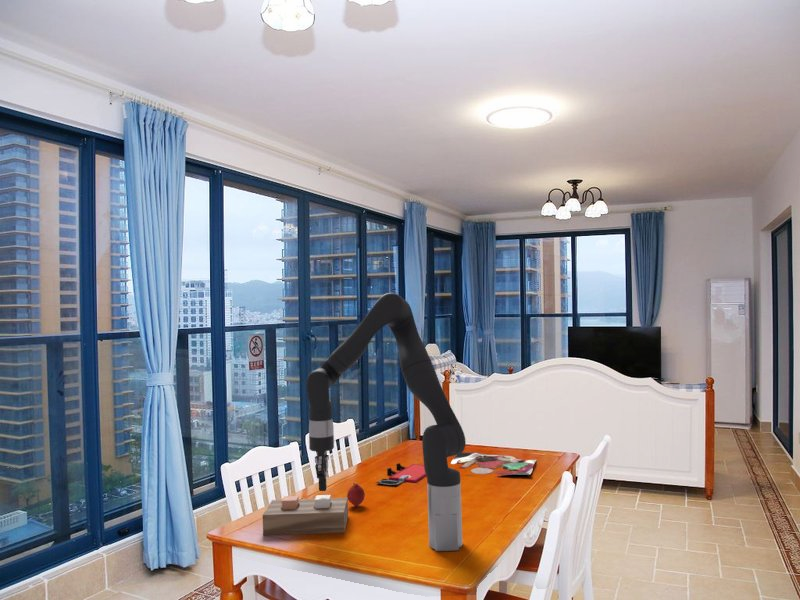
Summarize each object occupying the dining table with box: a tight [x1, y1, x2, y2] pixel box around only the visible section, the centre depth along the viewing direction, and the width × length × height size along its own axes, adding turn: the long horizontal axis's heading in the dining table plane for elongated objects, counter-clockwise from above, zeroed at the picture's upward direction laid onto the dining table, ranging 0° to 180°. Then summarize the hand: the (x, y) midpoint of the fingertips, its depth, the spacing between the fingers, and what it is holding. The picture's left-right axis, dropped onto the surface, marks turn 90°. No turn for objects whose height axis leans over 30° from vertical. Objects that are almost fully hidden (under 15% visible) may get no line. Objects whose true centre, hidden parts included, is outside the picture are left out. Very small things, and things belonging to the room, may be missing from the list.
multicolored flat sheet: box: [450, 452, 537, 478], centre depth 253 cm, size 35×35×2 cm
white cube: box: [314, 494, 332, 508], centre depth 187 cm, size 4×4×4 cm
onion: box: [346, 482, 366, 508], centre depth 204 cm, size 6×6×8 cm
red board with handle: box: [375, 462, 427, 486], centre depth 240 cm, size 30×3×15 cm
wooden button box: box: [262, 497, 349, 536], centre depth 187 cm, size 14×24×6 cm, turn 90°
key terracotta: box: [281, 495, 300, 509], centre depth 187 cm, size 4×4×4 cm
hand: (322, 490), depth 188 cm, fingers closed
